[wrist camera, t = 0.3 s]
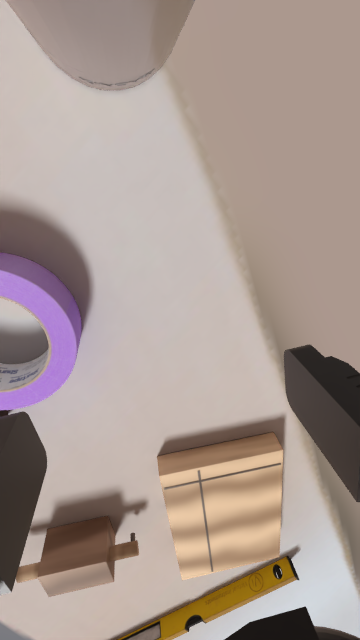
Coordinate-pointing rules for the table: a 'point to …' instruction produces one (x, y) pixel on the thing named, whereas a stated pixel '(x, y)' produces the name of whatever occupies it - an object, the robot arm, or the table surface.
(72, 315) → the masking tape
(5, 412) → the hand tool
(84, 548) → the tan peg block
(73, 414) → the table surface
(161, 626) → the spirit level
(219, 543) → the oak board
